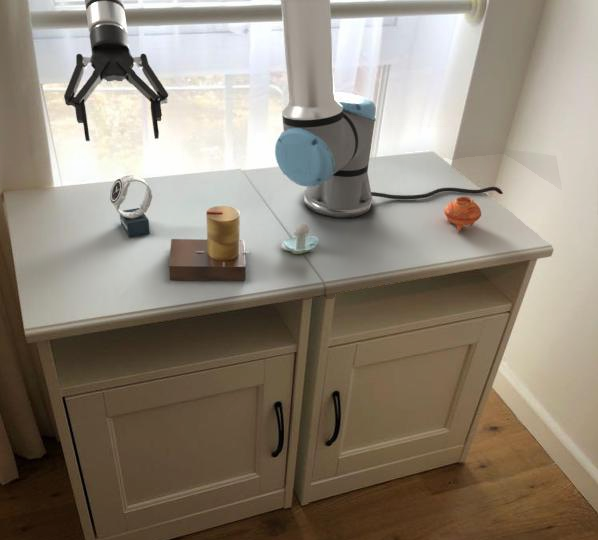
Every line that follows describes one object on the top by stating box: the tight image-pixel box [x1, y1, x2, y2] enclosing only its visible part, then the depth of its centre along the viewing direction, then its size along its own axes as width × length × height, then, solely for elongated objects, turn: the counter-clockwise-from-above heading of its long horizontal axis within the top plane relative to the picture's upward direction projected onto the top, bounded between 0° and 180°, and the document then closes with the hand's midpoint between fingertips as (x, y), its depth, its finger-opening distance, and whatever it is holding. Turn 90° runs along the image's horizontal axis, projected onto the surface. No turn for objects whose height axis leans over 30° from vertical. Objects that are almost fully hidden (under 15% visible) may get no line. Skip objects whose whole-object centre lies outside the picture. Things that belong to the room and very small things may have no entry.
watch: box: [109, 174, 153, 238], centre depth 132 cm, size 6×8×11 cm
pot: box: [443, 196, 482, 233], centre depth 144 cm, size 8×8×7 cm
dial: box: [206, 205, 241, 261], centre depth 122 cm, size 6×6×8 cm
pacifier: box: [280, 222, 319, 255], centre depth 132 cm, size 7×6×6 cm
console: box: [168, 238, 251, 282], centre depth 126 cm, size 15×10×3 cm
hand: (122, 137), depth 133 cm, fingers open, 13 cm apart
